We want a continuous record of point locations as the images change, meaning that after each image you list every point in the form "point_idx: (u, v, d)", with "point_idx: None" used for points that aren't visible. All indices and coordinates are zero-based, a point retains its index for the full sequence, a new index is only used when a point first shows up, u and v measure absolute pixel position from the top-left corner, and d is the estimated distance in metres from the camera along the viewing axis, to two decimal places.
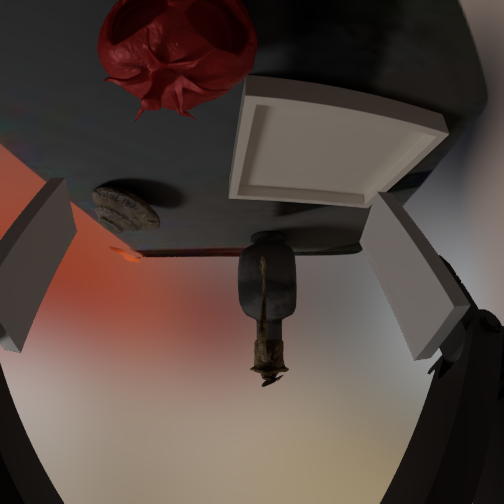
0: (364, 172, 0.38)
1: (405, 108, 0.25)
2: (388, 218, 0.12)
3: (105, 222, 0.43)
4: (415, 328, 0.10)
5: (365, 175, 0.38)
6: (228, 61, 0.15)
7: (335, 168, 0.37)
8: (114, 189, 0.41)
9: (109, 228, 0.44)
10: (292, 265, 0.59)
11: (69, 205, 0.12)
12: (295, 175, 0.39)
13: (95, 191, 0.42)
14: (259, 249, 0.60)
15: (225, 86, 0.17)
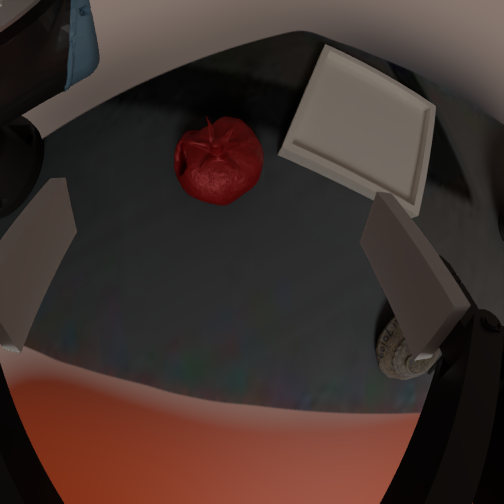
0: (391, 103, 0.42)
1: (313, 71, 0.41)
2: (388, 218, 0.12)
3: (411, 360, 0.34)
4: (415, 328, 0.10)
5: (394, 103, 0.42)
6: (223, 120, 0.32)
7: (386, 122, 0.41)
8: (380, 333, 0.37)
9: (421, 359, 0.34)
10: None
11: (69, 205, 0.12)
12: (396, 154, 0.41)
13: (379, 363, 0.38)
14: None
15: (243, 129, 0.33)
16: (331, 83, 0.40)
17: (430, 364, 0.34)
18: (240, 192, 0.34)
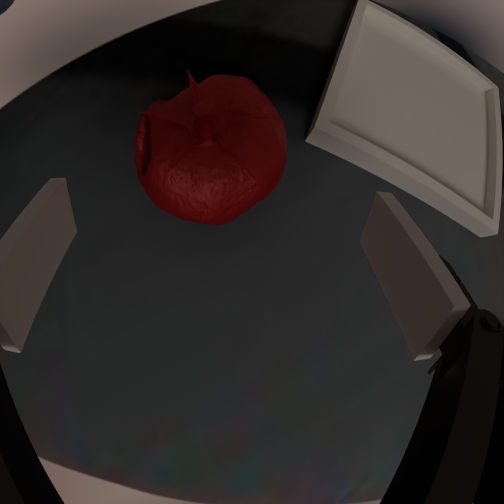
0: (448, 78, 0.27)
1: (346, 28, 0.26)
2: (388, 218, 0.12)
3: None
4: (415, 328, 0.10)
5: (452, 79, 0.27)
6: (217, 77, 0.17)
7: (447, 101, 0.26)
8: None
9: None
10: None
11: (69, 205, 0.12)
12: (464, 146, 0.26)
13: None
14: None
15: (252, 91, 0.18)
16: (373, 45, 0.26)
17: None
18: (249, 203, 0.19)
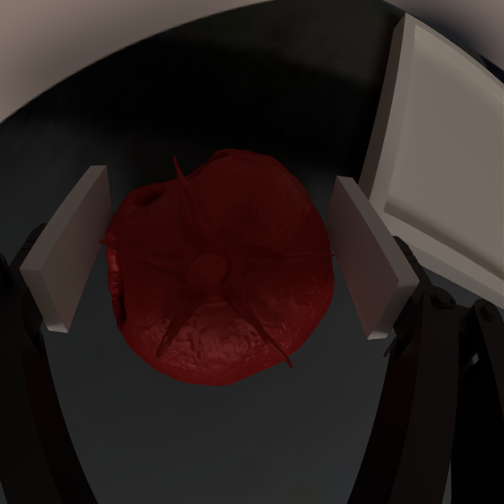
0: (503, 123, 0.21)
1: (392, 55, 0.20)
2: (345, 200, 0.12)
3: None
4: (367, 306, 0.10)
5: None
6: (226, 164, 0.11)
7: None
8: None
9: None
10: None
11: (108, 192, 0.13)
12: None
13: None
14: None
15: (284, 190, 0.12)
16: (425, 81, 0.20)
17: None
18: None
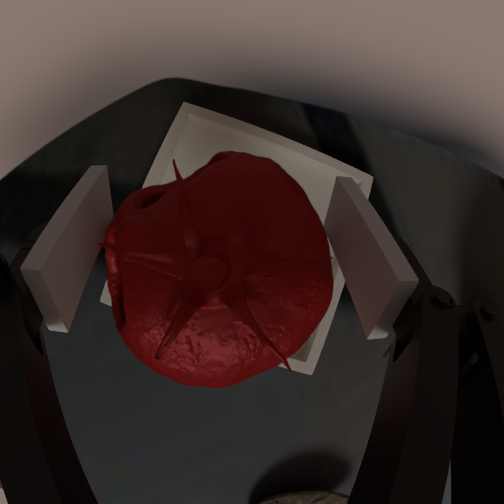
0: None
1: None
2: (344, 200, 0.12)
3: None
4: (367, 306, 0.10)
5: (299, 183, 0.31)
6: (225, 167, 0.11)
7: None
8: None
9: None
10: (499, 297, 0.26)
11: (109, 192, 0.13)
12: None
13: None
14: None
15: (284, 193, 0.12)
16: (189, 170, 0.29)
17: None
18: None
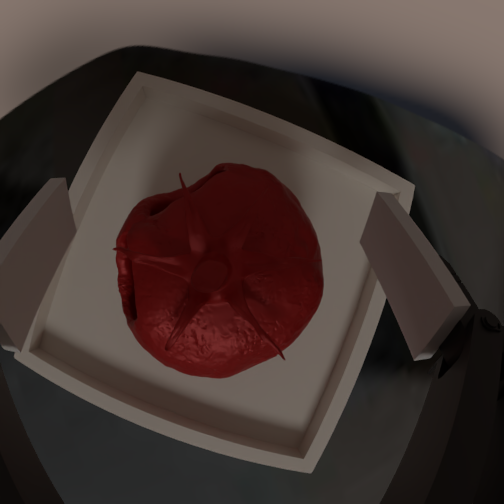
0: (294, 194, 0.20)
1: None
2: (388, 218, 0.12)
3: None
4: (415, 328, 0.10)
5: (305, 192, 0.20)
6: (226, 179, 0.13)
7: None
8: None
9: None
10: None
11: (69, 205, 0.12)
12: None
13: None
14: None
15: (278, 202, 0.13)
16: (138, 169, 0.19)
17: None
18: None
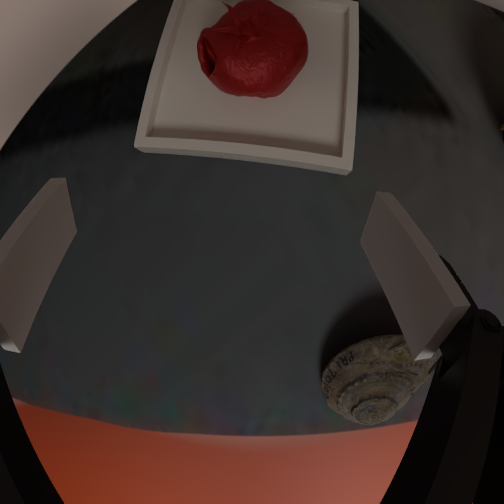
0: None
1: None
2: (387, 218, 0.12)
3: (358, 412, 0.25)
4: (415, 328, 0.10)
5: None
6: (243, 2, 0.21)
7: None
8: (323, 370, 0.29)
9: (371, 412, 0.25)
10: None
11: (69, 205, 0.12)
12: (306, 88, 0.28)
13: (327, 402, 0.30)
14: None
15: (270, 4, 0.21)
16: (195, 32, 0.28)
17: (390, 414, 0.25)
18: (291, 72, 0.24)
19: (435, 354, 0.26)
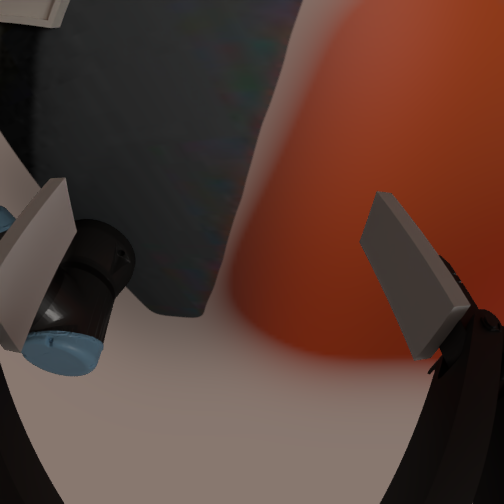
0: None
1: None
2: (388, 218, 0.12)
3: None
4: (415, 328, 0.10)
5: None
6: None
7: None
8: None
9: None
10: None
11: (69, 205, 0.12)
12: None
13: None
14: None
15: None
16: None
17: None
18: None
19: None
